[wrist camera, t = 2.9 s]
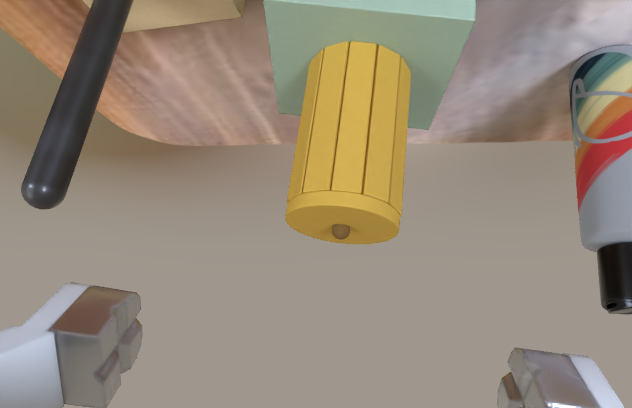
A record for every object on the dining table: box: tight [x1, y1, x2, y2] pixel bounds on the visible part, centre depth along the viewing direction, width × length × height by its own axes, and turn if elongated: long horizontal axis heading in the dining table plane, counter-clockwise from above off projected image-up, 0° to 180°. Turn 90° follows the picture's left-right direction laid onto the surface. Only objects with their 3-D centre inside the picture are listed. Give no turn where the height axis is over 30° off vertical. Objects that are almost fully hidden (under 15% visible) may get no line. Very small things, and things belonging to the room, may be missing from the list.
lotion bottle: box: [569, 45, 632, 314], centre depth 35 cm, size 6×6×20 cm
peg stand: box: [21, 0, 246, 209], centre depth 30 cm, size 12×12×20 cm
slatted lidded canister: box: [285, 41, 411, 244], centre depth 29 cm, size 9×6×11 cm
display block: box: [263, 0, 476, 130], centre depth 31 cm, size 11×11×9 cm
